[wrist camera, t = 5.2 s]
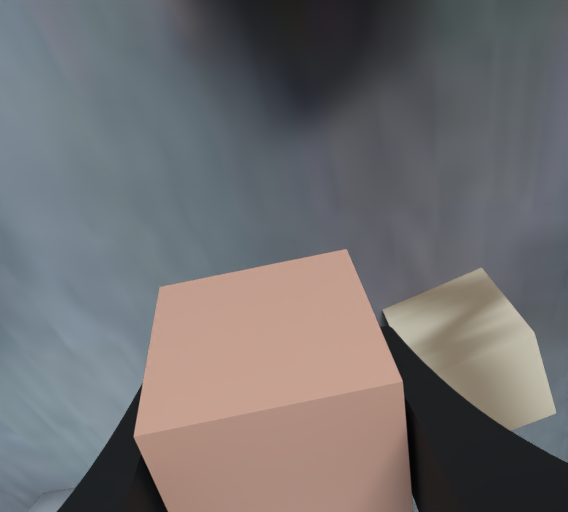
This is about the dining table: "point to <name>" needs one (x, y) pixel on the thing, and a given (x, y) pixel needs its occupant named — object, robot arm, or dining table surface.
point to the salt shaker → (51, 501)
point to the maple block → (477, 347)
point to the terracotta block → (274, 394)
